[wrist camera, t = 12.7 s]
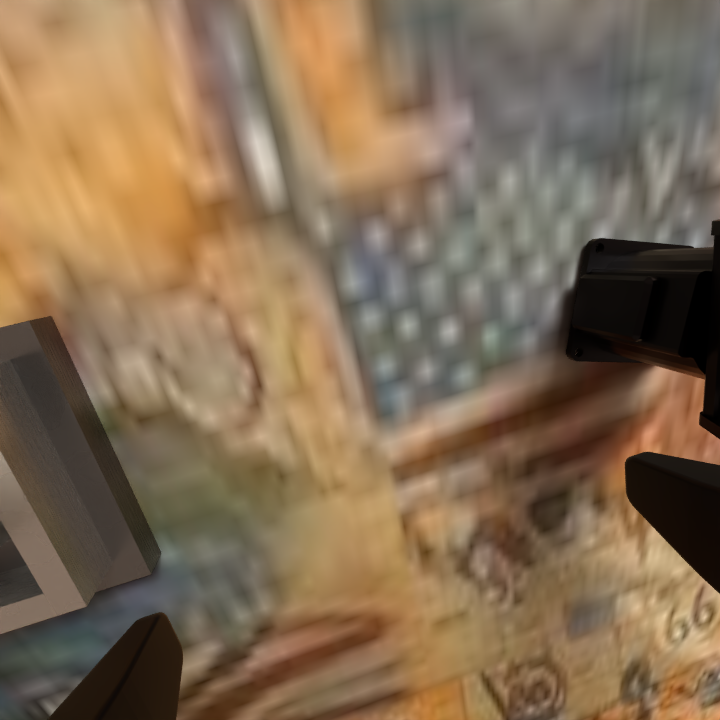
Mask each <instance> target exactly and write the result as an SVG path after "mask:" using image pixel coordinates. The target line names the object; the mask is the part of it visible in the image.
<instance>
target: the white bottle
mask: <svg viewBox="0 0 720 720" xmlns="http://www.w3.org/2000/svg"><path fill="white" fill-rule="evenodd" d="M9 538H10V536H9V534H8V532H7V530H6V529H5V527H4V525H3V524H2V522H1V520H0V547H1V546H2V545H3V544H4V543H5V542H6V541H7V540H8V539H9Z"/></svg>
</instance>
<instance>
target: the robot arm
mask: <svg viewBox="0 0 720 720" xmlns="http://www.w3.org/2000/svg"><path fill="white" fill-rule="evenodd" d="M711 235H714V247H707V248H694V247H692V246H684V245H673V244H661V243H650V242H639V241H627V240H616V239H605V238H599V239H592V240H591V241H589V242H588V244H587V246H586V249H585V254H584V259H583V264H582V270H581V275H580V280H579V286H578V291H577V296H576V301H575V307H574V312H573V317H572V322H571V328H570V333H569V338H568V343H567V349H566V355H567V357H568V358H569V359H572V360H575V361H591V362H635V363H647V364H651V365H655V366H658V367H662V368H665V369H669V370H673V371H676V372H680V373H683V374H687V375H690V376H694V377H698V378H701V379H705V386H704V401H703V412H700V419H699V425H700V426H702V427H703V428H705V429H706V430H707V431H709V432H710V433H712V434H713V435H715V436H716V437H717V438H719V439H720V219H719V220H714V221H712V230H711ZM596 245H598V251H597V252H596V251H595V248H596ZM577 349H578V352H577V354H576V355H575V351H576V350H577ZM625 481H626V494H627V497H628V499H629V501H630V503H631V504H632V505H633V506H634V508H635V509H636V510H637V511H638V512H639V513H640V514H641V515H642V516H643V517H644V518H645V519H646V520H647V521H648V522H649V523H650V524H651V525H652V526H653V527H654V529H655V530H656V531H657V532H658V533H659V534H660V535H661V536H662V537H663V538H664V539H665V540H666V541H667V542H668V543H669V544H670V545H671V546H672V547H673V548H674V549H675V550H676V552H677V553H678V554H679V555H680V556H681V557H682V558H683V559H684V560H685V561H686V562H687V563H688V564H689V565H690V566H691V567H692V568H693V569H694V570H695V571H696V572H697V573H698V574H699V575H700V576H701V577H702V578H703V579H704V580H705V581H706V582H708V583H709V584H710V585H711V586H712V587H713V588H714V589H715V590H716V591H717V592H718V593H720V465H716V464H710V463H705V462H700V461H695V460H689V459H684V458H679V457H674V456H668V455H663V454H658V453H653V452H643V453H640V454H637V455H634V456H631V457H629V458H627V459H626V462H625ZM182 664H183V651H182V647H181V644H180V642H179V640H178V637H177V635H176V633H175V631H174V629H173V627H172V625H171V623H170V621H169V619H168V617H167V616H166V615H165V614H164V613H162V612H159V613H155V614H152V615H149V616H146V617H143V618H141V619H139V620H137V621H136V622H135V623H134V624H133V625H132V626H131V627H130V628H129V629H128V630H127V631H126V633H125V634H124V635H123V636H122V637H121V638H120V639H119V640H118V641H117V643H116V644H115V645H114V646H113V647H112V648H111V649H110V650H109V651H108V653H107V654H106V655H105V656H104V657H103V658H102V659H101V660H100V661H99V663H98V664H97V665H96V666H95V667H94V668H93V669H92V670H91V671H90V673H89V674H88V675H87V676H86V677H85V678H84V679H83V680H82V681H81V683H80V684H79V685H78V686H77V687H76V688H75V689H74V690H73V691H72V693H71V694H70V695H69V696H68V697H67V698H66V699H65V700H64V701H63V703H62V704H61V705H60V706H59V707H58V708H57V709H56V710H55V711H54V713H53V714H52V715H51V716H50V717H49V718H48V719H47V720H176V717H177V708H178V699H179V691H180V682H181V673H182Z"/></svg>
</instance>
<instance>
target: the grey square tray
mask: <svg viewBox="0 0 720 720" xmlns="http://www.w3.org/2000/svg"><path fill="white" fill-rule="evenodd" d="M0 520H1V522H2V524H3V525H4V527H5V529H6V530H7V532H8V534H9V536H10V538H9V539H8V540H7V541H6V542H5V543H4V544H3V545H2V546H1V547H0V634H2V633H5V632H9V631H12V630H15V629H18V628H21V627H24V626H27V625H30V624H33V623H37V622H40V621H43V620H46V619H49V618H52V617H55V616H58V615H62V614H65V613H68V612H71V611H74V610H77V609H80V608H83V607H86V606H87V605H88V604H89V602H90V600H91V599H92V597H93V595H94V594H95V592H98V591H101V590H104V589H107V588H110V587H113V586H116V585H120V584H123V583H126V582H129V581H132V580H135V579H139V578H142V577H145V576H148V575H151V574H152V571H153V569H154V567H155V565H156V563H157V560H158V558H159V556H160V554H161V551H160V549H159V547H158V545H157V543H156V541H155V539H154V536H153V534H152V532H151V530H150V528H149V526H148V523H147V521H146V519H145V517H144V515H143V513H142V510H141V508H140V506H139V504H138V502H137V500H136V498H135V495H134V493H133V491H132V489H131V487H130V485H129V482H128V480H127V478H126V476H125V474H124V472H123V470H122V467H121V465H120V463H119V461H118V459H117V457H116V454H115V452H114V450H113V448H112V446H111V444H110V441H109V439H108V437H107V435H106V433H105V431H104V429H103V426H102V424H101V422H100V420H99V418H98V416H97V413H96V411H95V409H94V407H93V405H92V403H91V401H90V398H89V396H88V394H87V392H86V390H85V388H84V385H83V383H82V381H81V379H80V377H79V375H78V372H77V370H76V368H75V366H74V364H73V362H72V360H71V357H70V355H69V353H68V351H67V349H66V347H65V344H64V342H63V340H62V338H61V336H60V334H59V332H58V329H57V327H56V325H55V323H54V321H53V319H52V316H49V317H44V318H40V319H35V320H30V321H26V322H22V323H18V324H14V325H9V326H5V327H1V328H0Z"/></svg>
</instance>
